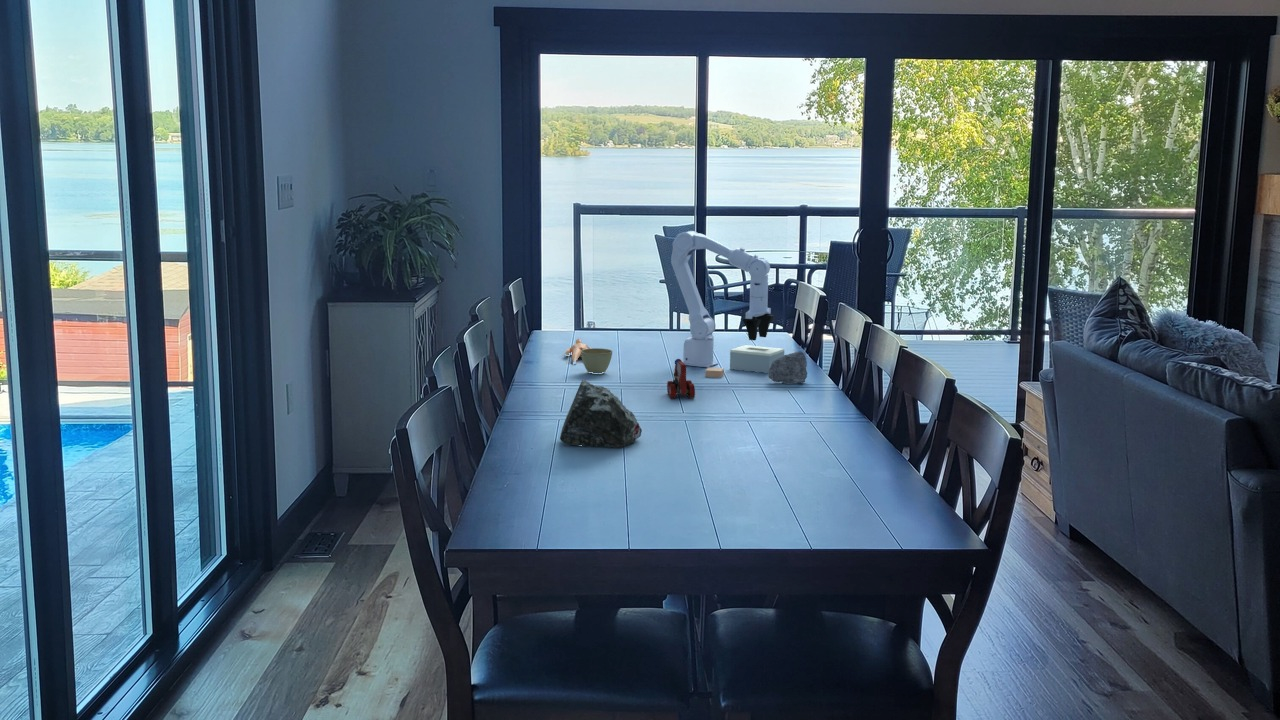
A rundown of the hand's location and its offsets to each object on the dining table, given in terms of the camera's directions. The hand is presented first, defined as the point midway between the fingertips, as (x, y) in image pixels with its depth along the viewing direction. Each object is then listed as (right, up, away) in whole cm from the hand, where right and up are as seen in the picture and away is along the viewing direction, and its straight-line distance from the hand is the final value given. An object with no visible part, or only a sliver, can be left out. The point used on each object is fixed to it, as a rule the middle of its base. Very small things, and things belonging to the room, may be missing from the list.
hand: (757, 338), depth 350 cm
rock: (+7, -14, -21) cm, 26 cm away
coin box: (0, -10, +2) cm, 10 cm away
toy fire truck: (-26, -17, -40) cm, 51 cm away
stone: (-49, -27, -93) cm, 108 cm away
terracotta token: (-15, -12, -10) cm, 22 cm away
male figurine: (-58, -7, +19) cm, 62 cm away
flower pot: (-52, -11, -7) cm, 53 cm away
